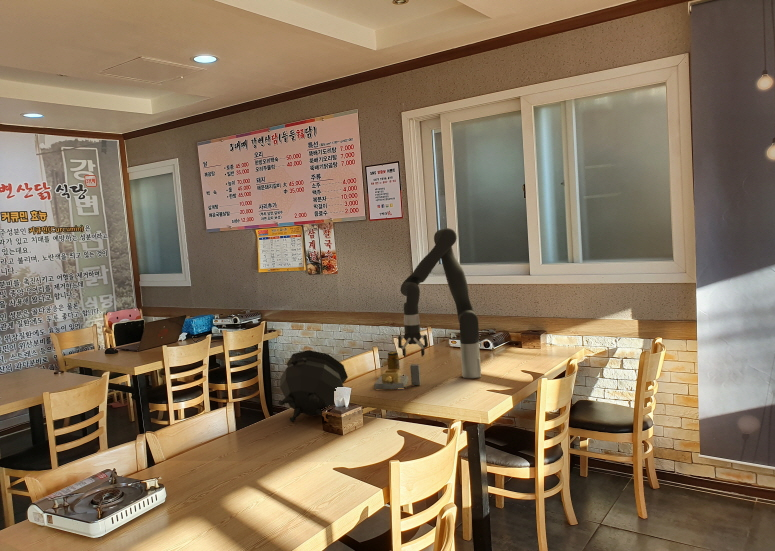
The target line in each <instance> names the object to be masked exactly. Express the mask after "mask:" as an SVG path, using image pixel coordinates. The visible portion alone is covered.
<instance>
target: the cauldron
mask: <svg viewBox="0 0 775 551" xmlns="http://www.w3.org/2000/svg"><path fill="white" fill-rule="evenodd" d="M286 365H287V367H285V370H284V371H283V373H282V375H281V376H280V382H279V388H280V391H281V393H282V395H283V397H284V398H283V399H282V400H278V401H277V402H278V403H277V404H278V405H280V406H284V405H286V404H288V406H289V407H290V408H291V409H293V410H294V411H293V412H292V413H293V414H292V416H290V417H288V418H289V419H288V420H289V421H290V422H291V423H294V422H296V421H297V418H298V417H299V416H300V415H301V414H303V415H307V416H311V417H314V416H318V415H319V416H321V417H322V411H323V410H324V409H326V408H325V407H327V408H328V406H329V405H330V406H333V405H334V391H336V389H335V388H337V387H344V384H345V383H346V381H347V380H348V378H349V376H348V373H347V371H346V368H345V365H344V364H343V363H341V362H340V361H339V360H337V359H336V358H334V357H333V356H331V355H330V354H328V353H325V352H319V351H315V350H310V349H307V350H304V351H300V352H296V353H292V354H291V356H290V358H289V359H288V361H287V363H286ZM344 388H345V387H344ZM330 406H329V407H330ZM323 408H324V409H323ZM321 409H323V410H321Z"/></svg>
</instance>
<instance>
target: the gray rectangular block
mask: <svg viewBox="0 0 775 551" xmlns="http://www.w3.org/2000/svg"><path fill="white" fill-rule="evenodd" d="M409 368H410V369H409V370H410V382H411V386H412V385H420V384H421V383H422V382H421V371H420V370H421V369H420V364H419V363H415V364H414V363H411V364H410V366H409ZM421 385H422V384H421ZM421 385H420V386H421Z"/></svg>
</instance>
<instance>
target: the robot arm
mask: <svg viewBox="0 0 775 551" xmlns="http://www.w3.org/2000/svg"><path fill="white" fill-rule="evenodd" d="M457 237H458V236H457V233H456V231H455V230H454V229H452V228H450V227H448V228H447V227H445V228H442V229H438V230H437V231H436V232H435V233H434V235H433V239H434V240H433V241H434V246H433V248H432V249H431V250H430V251H429V252H428V254H427V255H425V256H424V257H423V258H422V260H420V262H419V263H418V265H417V266H416V267H415V269H414V270H413V271H412V273H411V274H410V275H409V276H408V277H406V279H405V280H404V281H403V282H402V284H401V285H400V294H401V295H402V296H404V297H406V301H405V302H404V304H403V327H404V328H403V329H404V330H403V331H404V335H402V334H399V335H398V337H397V341H398V342H397V347H398V348H399V349H401V350H402V356H403V357H404V358H406V357H407V348H406V347H407V345H408V344H409V345H418V346H419V347H420V352H421V355H420V356H421V357H424V356H425V354H426V352H425V351H426V350H425V349H426V348H428V347H429V343H428V334H424V335H422V334H421V324H420V321H421V320H420V315H419V313H420V312H419V302H420V294H421V290H420V287H419V285H420V284H422V283H424V282H425V281H426V280H427V278H428V277H429V275H430V274H431V272H432V271H433V270H434V268H435V267H436V265H437V264H438V263H439V261H440V260H441V263H442V268H443V272H444V274H445V279H446V282H447V286H448V288H449V291H450V293H451V296H452V298H453V301H454V304H455V307H456V312H457V313H456V314H457V321H458V323H459V347H460V359H461V360H460V361H461V374H462V377H463V378H464V379H478V378H481V376H482V367H481V366H482V365H481V356H480V355H481V354H480V342H479V341H480V338H479V337H480V328H479V317H478V315H477V314H476V313H475V310H474V309H473V306H472V304H471V301H470V296H469V288H468V282H467V278H466V275H465V272H464V269H463V267H462V266H461V263H459V261H458V259H457V258H456V255H455V253H454V249H453V246H454V245H455V243H456V241H457ZM403 339H404V340H405V342H404V344H403V345H402V341H403ZM421 339H422V340H423V341H424V342H423V343H424V344H423V343H422V341H421Z"/></svg>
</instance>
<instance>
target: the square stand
mask: <svg viewBox="0 0 775 551" xmlns="http://www.w3.org/2000/svg"><path fill="white" fill-rule="evenodd" d="M401 374H402V373H401V369H400V370H388V369H383V371H382V372H381V375H380V376H379V377H378V379H377V380H376V381H375V382H374V390H375V389H397V390H399V389H398V388H404V387H405V388H406V386H407V385H406V384H408V383H409V375H406V374H405V375H404V376H401ZM407 382H408V383H407ZM405 385H406V386H405ZM405 388H404V389H405Z"/></svg>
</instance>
